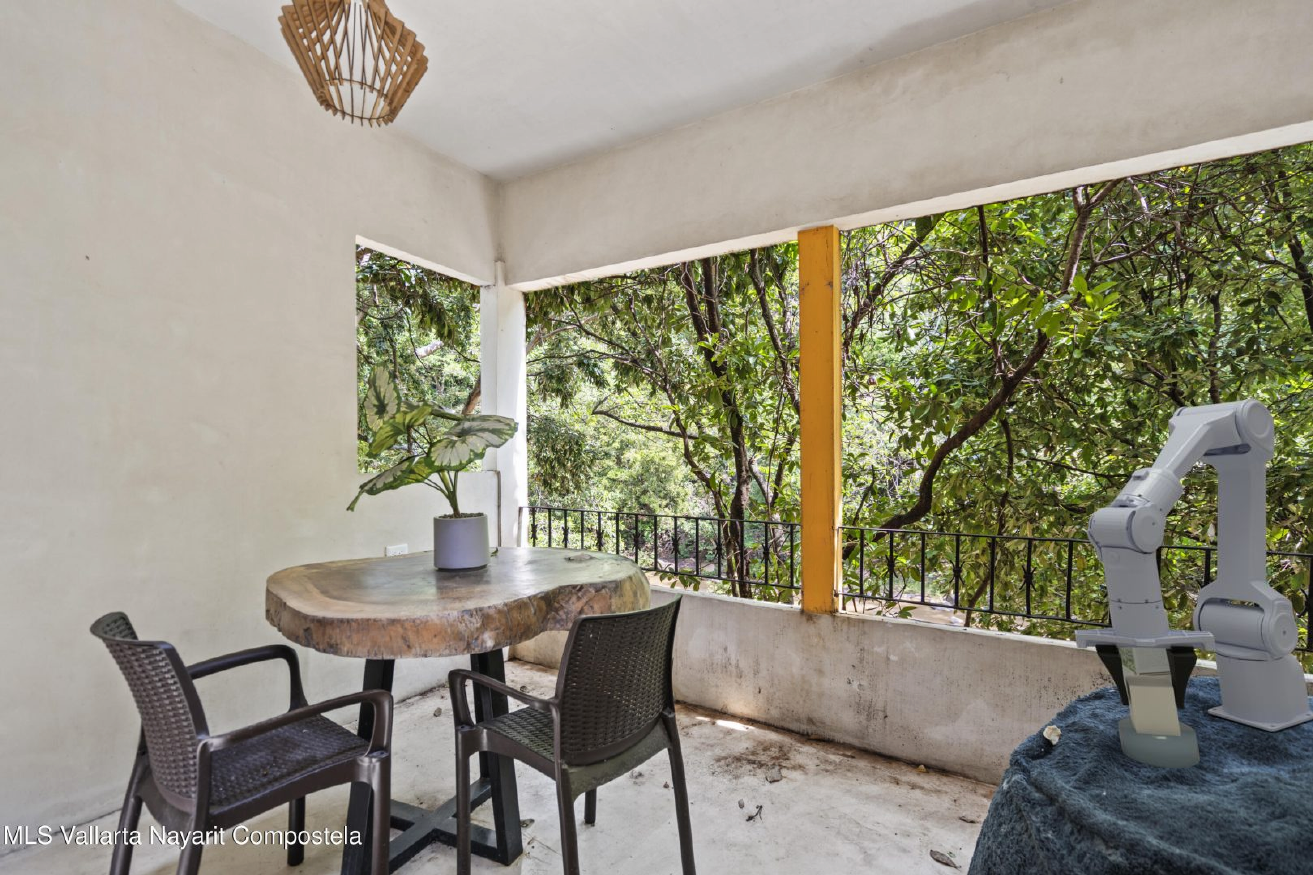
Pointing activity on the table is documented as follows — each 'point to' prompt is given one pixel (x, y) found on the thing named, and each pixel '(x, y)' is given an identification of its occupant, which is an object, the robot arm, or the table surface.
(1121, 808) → the table surface
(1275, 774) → the table surface
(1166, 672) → the syrup box
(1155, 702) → the cream block
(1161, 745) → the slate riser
